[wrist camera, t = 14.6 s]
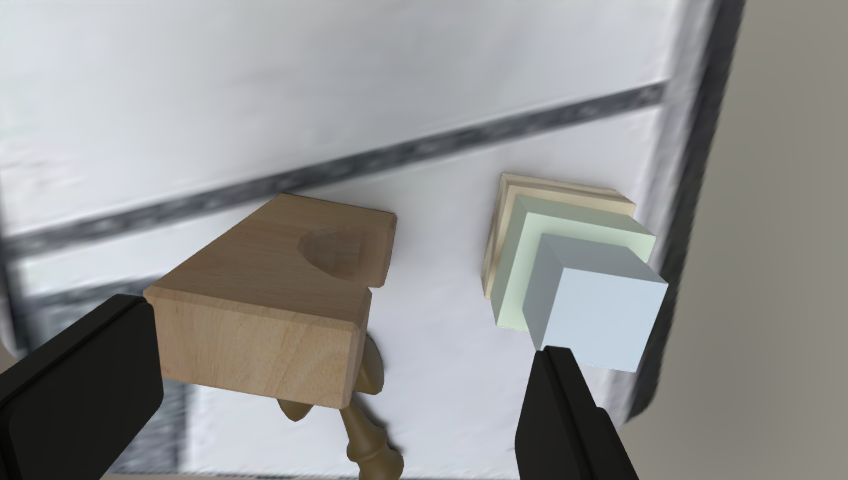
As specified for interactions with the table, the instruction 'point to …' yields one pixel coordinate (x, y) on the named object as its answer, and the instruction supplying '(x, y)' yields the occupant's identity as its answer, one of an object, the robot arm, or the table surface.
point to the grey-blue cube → (592, 301)
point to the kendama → (362, 423)
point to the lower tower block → (547, 191)
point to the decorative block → (276, 302)
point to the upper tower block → (561, 221)
